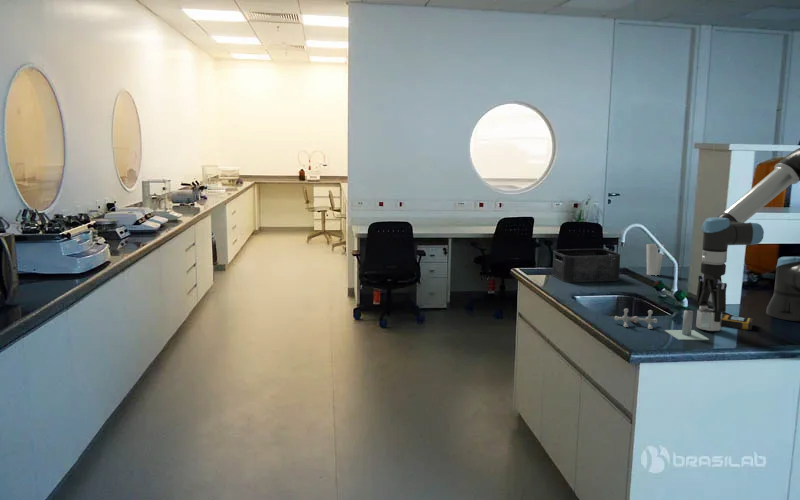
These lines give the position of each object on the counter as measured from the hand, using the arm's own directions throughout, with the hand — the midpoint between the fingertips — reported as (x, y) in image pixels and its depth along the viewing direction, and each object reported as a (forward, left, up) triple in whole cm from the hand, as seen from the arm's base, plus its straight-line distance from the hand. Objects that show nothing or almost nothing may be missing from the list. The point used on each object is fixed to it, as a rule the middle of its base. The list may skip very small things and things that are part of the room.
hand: (708, 326), depth 204 cm
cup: (-24, -95, -1) cm, 98 cm away
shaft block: (+11, +7, -1) cm, 13 cm away
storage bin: (+14, -87, -1) cm, 88 cm away
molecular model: (+23, -5, -1) cm, 24 cm away
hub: (0, 0, 0) cm, 0 cm away
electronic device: (-11, -7, -2) cm, 13 cm away
